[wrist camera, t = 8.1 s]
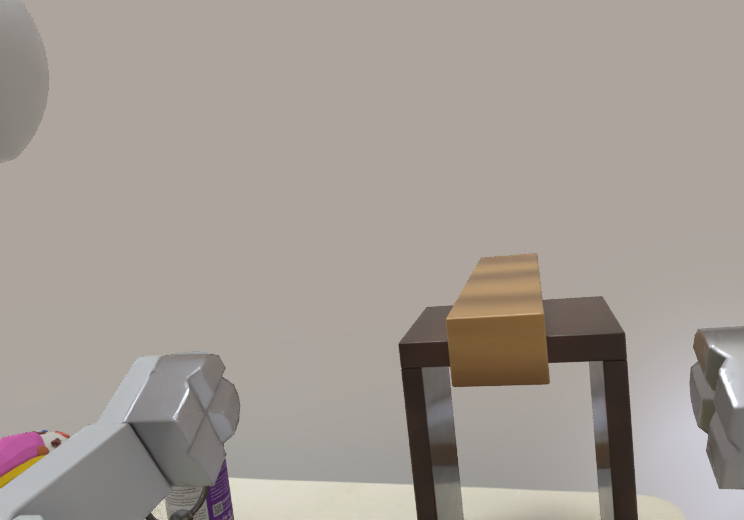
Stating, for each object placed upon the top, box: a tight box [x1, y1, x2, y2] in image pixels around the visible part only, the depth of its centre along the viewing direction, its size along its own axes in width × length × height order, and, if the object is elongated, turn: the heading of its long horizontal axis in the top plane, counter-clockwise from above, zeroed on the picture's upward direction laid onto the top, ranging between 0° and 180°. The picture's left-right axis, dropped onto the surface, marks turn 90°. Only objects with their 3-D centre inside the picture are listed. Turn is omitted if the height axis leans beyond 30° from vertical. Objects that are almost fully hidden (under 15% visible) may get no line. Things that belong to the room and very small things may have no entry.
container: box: [165, 351, 234, 520], centre depth 46 cm, size 5×5×15 cm
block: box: [446, 253, 550, 387], centre depth 35 cm, size 20×4×3 cm, turn 166°
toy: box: [0, 430, 70, 489], centre depth 51 cm, size 10×9×15 cm
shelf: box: [399, 296, 638, 520], centre depth 39 cm, size 12×10×17 cm
